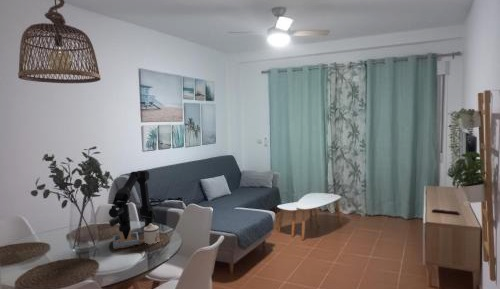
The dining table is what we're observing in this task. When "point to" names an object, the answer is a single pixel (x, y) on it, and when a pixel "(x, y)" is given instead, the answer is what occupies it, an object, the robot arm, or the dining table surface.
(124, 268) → the dining table surface
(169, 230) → the dining table surface
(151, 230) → the teacup with lid
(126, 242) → the big crate
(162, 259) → the dining table surface
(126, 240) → the small crate
